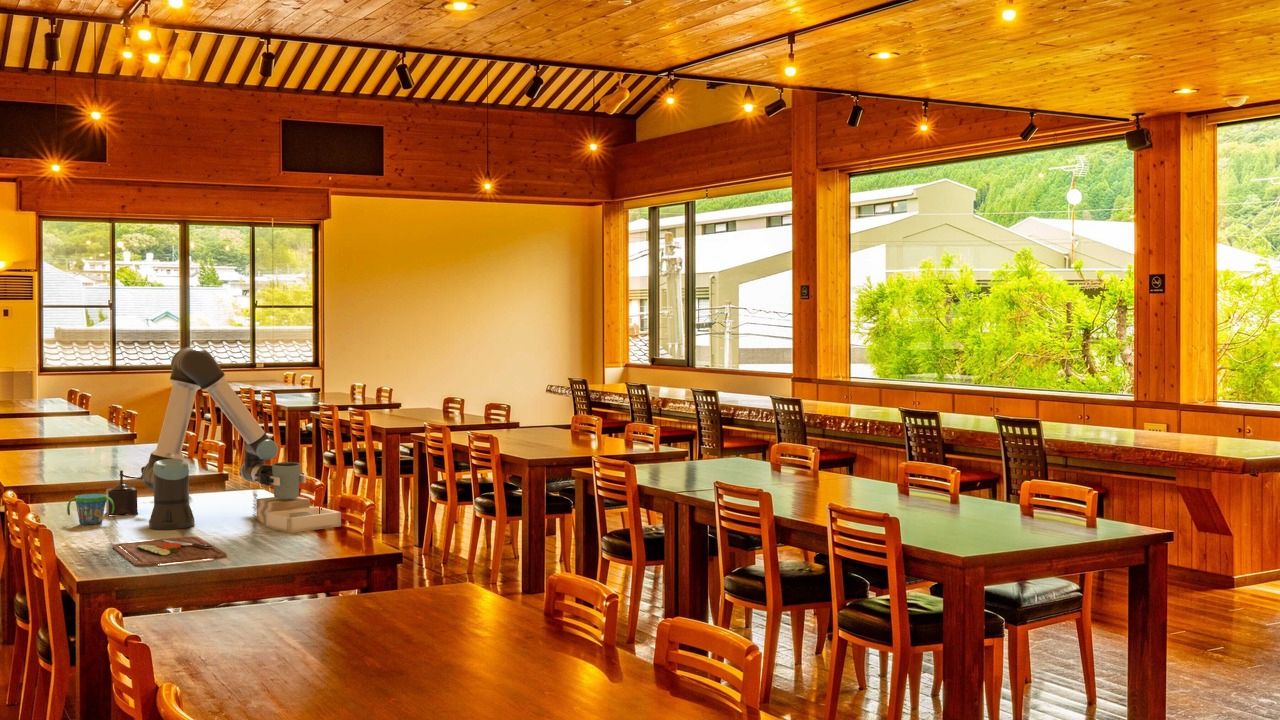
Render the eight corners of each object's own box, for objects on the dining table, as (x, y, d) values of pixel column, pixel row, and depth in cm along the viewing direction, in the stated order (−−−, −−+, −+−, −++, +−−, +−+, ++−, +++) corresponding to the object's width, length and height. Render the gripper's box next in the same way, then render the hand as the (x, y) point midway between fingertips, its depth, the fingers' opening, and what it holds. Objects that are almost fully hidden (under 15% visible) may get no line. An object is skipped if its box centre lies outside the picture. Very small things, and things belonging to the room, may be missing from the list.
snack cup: (118, 520, 438) (117, 493, 437) (109, 525, 427) (108, 497, 427) (73, 521, 435) (72, 494, 435) (63, 526, 425) (62, 498, 425)
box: (265, 526, 424) (265, 512, 424) (317, 520, 438) (317, 506, 438) (288, 533, 411) (288, 518, 411) (341, 526, 424) (341, 512, 424)
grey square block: (296, 515, 419) (296, 526, 419) (312, 513, 423) (312, 524, 423) (289, 513, 424) (289, 524, 424) (305, 511, 427) (305, 522, 428)
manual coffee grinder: (108, 516, 447) (107, 469, 446) (105, 512, 456) (104, 465, 456) (152, 513, 454) (152, 466, 454) (149, 509, 464) (148, 463, 463)
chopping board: (109, 547, 389) (109, 537, 389) (194, 538, 404) (194, 529, 404) (138, 570, 352) (138, 560, 352) (231, 560, 367) (231, 550, 367)
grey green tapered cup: (290, 499, 428) (291, 466, 427) (265, 497, 431) (266, 464, 430) (305, 495, 438) (306, 462, 437) (280, 493, 440) (281, 460, 440)
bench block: (256, 520, 437) (256, 499, 436) (292, 516, 446) (292, 495, 446) (273, 525, 426) (273, 503, 426) (309, 521, 436) (309, 499, 435)
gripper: (293, 481, 454) (320, 487, 438) (237, 487, 440) (262, 493, 423) (293, 462, 454) (320, 467, 437) (236, 467, 440) (262, 472, 423)
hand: (291, 480), depth 430 cm, fingers closed on grey green tapered cup, 9 cm apart
